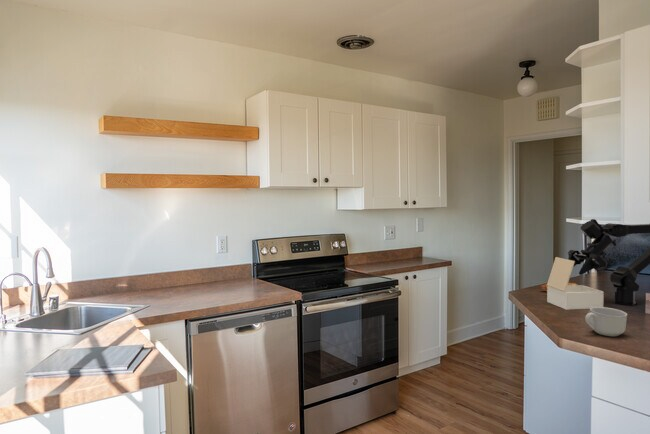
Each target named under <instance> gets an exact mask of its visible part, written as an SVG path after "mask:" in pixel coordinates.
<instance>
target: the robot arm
mask: <svg viewBox="0 0 650 434" xmlns="http://www.w3.org/2000/svg"><path fill="white" fill-rule="evenodd" d="M580 230H581V231H582V232H583V233H584V235H586V236H587V237H588V239H592V240H593V241H591V242H588V243H586V245H587V247H585V248H584V249H581V250H580V251H579V250H576V249H570V250H568V252H567V254H568V255H567V256H568V258H567V260H572V261H575V263H574V266H573V268H574V267H576V266H577V265H582V266H581V267H580V270H579V271H578V274H579V275H580V276H582V275H585V274H587V273H588V272H589V271H591V270H595V271H599V272H601V271H604V270H606V269H608V265H607V264H608V263H607V261H606V260H605V259H604V257H603V256H604V255H605V252H604V251H605V250H606V249H607V248H608V247H609V246H610V247H611V246H612V247H616V246H617V242H616V241H617V240H616V239H613V238H622V237H626V236H628V235H635V234H636V235H637V234H650V223H644V224H643V223H642V224H641V223H640V224H621V223H612V222H611V223H605V224H604V225H603V226H602V225H600V223H599V222H598V220H597V219H595V218H592V219H590V220H589V221H586V222H584V223H582V225H581V226H580ZM582 263H583V264H582ZM649 265H650V247H649V248H648V249H647V250H646V251H644V252H643V253H642V254H641V255H640V256H638V257H637V258H636V259H634V260H633V261H632V262H631V263H630V264H629V265H627V266H621V265H620V266H618V267H616V269H614V270H612V271H611V274H610V278H609V279H610V282H611V283H612V286H613V288H614V289H615V288H616V290H615V292H614V304H618V305H626V306H634V305H635V304H637V302H636V292H638V291H639V289H640V285H639V284H638V283H637V282H636V280H637V278H638V274H640V273H641V272H642V271H643V270H645V269H646V268H648V266H649Z"/></svg>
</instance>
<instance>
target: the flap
mask: <svg viewBox="0 0 650 434" xmlns="http://www.w3.org/2000/svg"><path fill="white" fill-rule="evenodd" d="M574 263H575V261H572V260H568V258H562V257H559V256H556V257H555V258H554V261H553V265H552V268H551V271H550V273H549V277H548V281H547V283H546V284H547V285H548V286H551V287H554V288H557V289H560V290H563V291H566V288H567V285H568V283H570V278H571V275H572V272H573V270H574V269H573V268H574V267H575V266H574ZM573 266H574V267H573Z"/></svg>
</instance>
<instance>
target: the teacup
mask: <svg viewBox="0 0 650 434" xmlns="http://www.w3.org/2000/svg"><path fill="white" fill-rule="evenodd" d="M627 318H628V313H627V312H625V311H623V310H620V309H617V308H611V307H607V306H603V307H592V308H590V309H589V312H588V313H587V314H586V315H585V318H584V320H585V322H586V324H587V325H589V326H590V328H591V329H592V330H594V332H595V333H596V334H599V335H602V336H606V337H618V336H620V335H622V334H623V333H624V332H625V331H626V328H627V327H626V326H627Z"/></svg>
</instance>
